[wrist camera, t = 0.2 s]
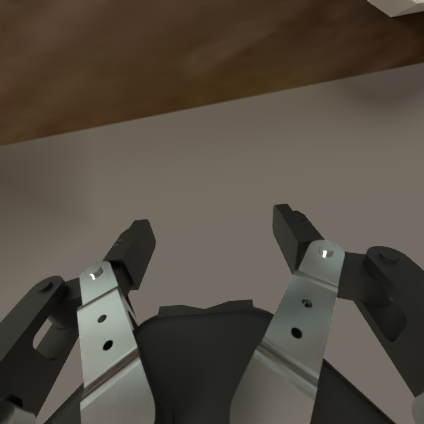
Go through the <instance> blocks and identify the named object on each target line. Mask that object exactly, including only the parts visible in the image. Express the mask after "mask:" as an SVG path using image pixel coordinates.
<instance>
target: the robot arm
mask: <svg viewBox="0 0 424 424" xmlns="http://www.w3.org/2000/svg"><path fill="white" fill-rule="evenodd" d="M273 233H274V236H275V238H276V240H277V242H278V245H279V247H280V249H281V251H282V253H283V255H284V258H285V260H286V262H287V264H288V266H289V268H290V271H291V273H292V277H291V280H290V282H289V284H288V286H287V289H286V290H285V292H284V295H283V297H282V299H281V301H280V303H279V305H278V308H277V310H276V312H275V314H272V313H270V312H268V311H266V310H263V309H260V308H256V307H253V302H252V300H239V301H228V302H225V303H222V304H219V305H216V306H213V307H210V308H207V309H201V308H196V307H190V306H185V305H175V306H162V307H160V308H159V312H158V315H156V316H154V317H151V318H149V319H148V320H146V321H144V322H143V323H142V324H140V322H139V319H138V317H137V315H136V312H135V310H134V307H133V305H132V302H131V300H130V298H129V296H128V293H129V291H130V290H138V289H139V287H140V284H141V282H142V279H143V277H144V274H145V271H146V269H147V266H148V264H149V261H150V259H151V256H152V254H153V251H154V249H155V245H156V241H155V237H154V234H153V231H152V228H151V226H150V223H149V221H148V220H147V219H143V220H135V221H134V222H133V224H132V225H131V227H130V228H129V229H127V230H125V231H124V232H123V233H122V234H121V235H120V236H119V238H118V239H117V241H116V242H115V243H114V246H112V248H111V249H110V251H109V252H108V254H107V255H106V256H105V258H104V259H103V261H101V262H97V263H95V264H93V265H91V266H89V267H88V268H86V269H85V270H84V271H83V273H82V274H81V276H80V277H79V278H76V279H73V280H70V281H67V282H65V281H64V280H63V278H61V276H52V277H49V278H46V279H44V280H42V281H41V282H39V283H38V284H36V285H35V286H34V287H33V288H32V289H31V290H30V291H29V292H28V293H27V294H26V295H25V296H24V297H23V298H22V299H21V300H20V302H19V303H18V304H17V305H16V306H15V307H14V308H13V309H12V310H11V311H10V313H9V314H8V315H7V316H6V317H5V318H4V319H3V320H2V321H1V322H0V424H36V417H37V415H38V413H39V411H40V409H41V407H42V406H43V404H44V402H45V400H46V398H47V396H48V394H49V392H50V390H51V388H52V386H53V384H54V383H55V381H56V379H57V377H58V375H59V373H60V371H61V369H62V367H63V365H64V363H65V362H66V360H67V358H68V356H69V354H70V352H71V350H72V348H73V346H74V344H75V342H76V340H77V338H78V337H80V348H81V359H82V370H83V380H84V382H83V383H82V384H81V385H80V387H78V389H77V390H76V391H75V392H74V393H73V394H72V395H71V396H70V397H69V398H68V399H67V400H66V401H65V402H64V403H63V404H62V405H61V406H60V407H59V408H58V409H57V410H56V411H55V413H53V415H52V416H51V417H50V418H49V419H48V420H47V421H46V422H45V423H44V424H396V423H395V422H393V421H392V420H391V419H390V418H389V417H388V416H387V415H386V414H385V413H384V412H383V411H381V410H380V409H379V408H378V407H377V406H376V405H375V404H374V403H373V402H372V401H370V400H369V399H368V398H367V397H366V396H365V395H364V394H363V393H362V392H360V391H359V390H358V389H357V388H356V387H355V386H354V385H353V384H352V383H351V382H349V381H348V380H347V379H346V378H345V377H344V376H343V375H342V374H341V373H340V372H338V371H337V370H336V369H335V368H334V367H333V366H332V365H331V364H330V363H329V362H327V361H326V360H325V359H324V358H323V356H324V352H325V348H326V343H327V338H328V334H329V329H330V325H331V320H332V316H333V311H334V307H335V302H336V297H338V298H343V299H348V300H352V301H354V302H355V304H356V306H357V307H358V309H359V310H360V312H361V313H362V315H363V317H364V318H365V320H366V321H367V323H368V324H369V326H370V327H371V329H372V331H373V332H374V334H375V335H376V337H377V338H378V340H379V342H380V343H381V345H382V346H383V348H384V350H385V351H386V353H387V354H388V356H389V357H390V359H391V360H392V362H393V364H394V365H395V367H396V368H397V370H398V371H399V373H400V375H401V376H402V378H403V379H404V381H405V382H406V384H407V386H408V387H409V389H410V390H411V392H412V393H413V395H414V397H415V399H414V400H413V401H412V405H411V411H412V415H413V419H414V421H415V423H416V424H424V271H423V270H422V269H421V268H420V267H419V266H418V265H417V264H416V263H414V262H413V261H412V260H411V259H410V258H409V257H407V256H406V255H405V254H403V253H401V252H399V251H397V250H395V249H392V248H388V247H383V246H374V247H371V248H369V249H368V250H367V253H366V255H365V254H357V253H349V252H344V250H343V249H342V248H341V247H340V246H339V245H337V244H335V243H333V242H331V241H327V240H324V238H323V237H322V236H321V235H320V233H319V232H318V231H317V230H316V229H315V227H314V226H313V225H312V224H311V222H310V221H309V220H308V219H307V217H306V216H305V215H304V214H302V213H300V212H299V211H292V209H291V208H290V207H289V205H288V204H279V205H274V208H273ZM46 319H48V320H49V321H50V322H51V323H52V326H51V327H50V329H49V330H48V332H47V333H46V335H45V336H44V338H43V339H42V341H41V342H40V344H39V345H38V347H37V348H36V350H35V349H34V348H33V339H34V336H35V335H36V333H37V332H38V330H39V329H40V328H41V326H42V325H43V323H44V322H45V321H46Z"/></svg>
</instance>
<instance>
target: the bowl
mask: <svg viewBox="0 0 424 424" xmlns="http://www.w3.org/2000/svg"><path fill="white" fill-rule="evenodd" d="M367 1H368V2H369V3H371V4H372V5H374V6H375V7H377V8H378V9H380V10H381V11H382V12H384V13H385V14H387V15H388V16H390V17H395V16H400V15H405V14H411V13H416V12H421V11H424V0H367Z"/></svg>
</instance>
